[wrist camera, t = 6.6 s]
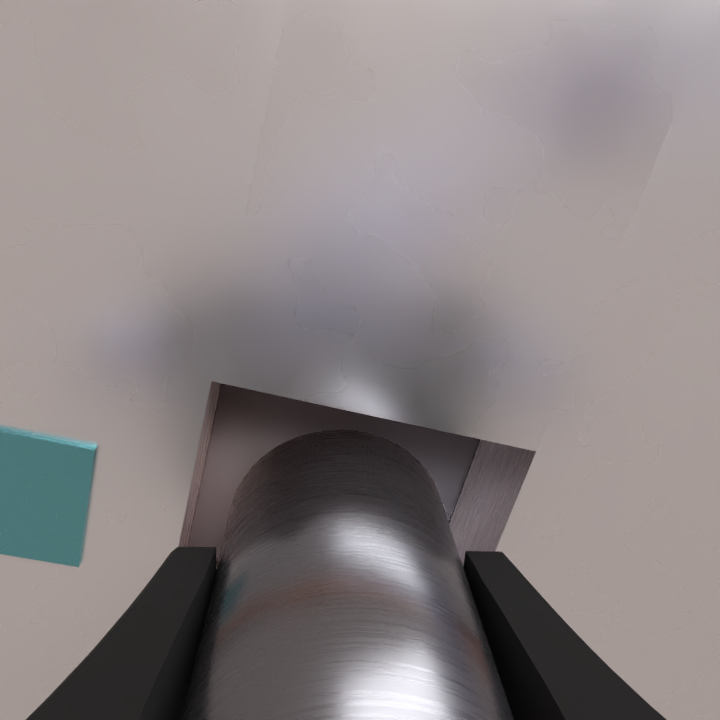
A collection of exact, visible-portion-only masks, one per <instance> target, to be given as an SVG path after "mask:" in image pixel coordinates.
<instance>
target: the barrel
mask: <svg viewBox="0 0 720 720" xmlns="http://www.w3.org/2000/svg"><path fill="white" fill-rule="evenodd" d="M181 720H514V718H513V715H512V712H511V709H510V706H509V703H508V700H507V697H506V694H505V691H504V688H503V685H502V682H501V679H500V676H499V673H498V670H497V667H496V664H495V661H494V658H493V655H492V652H491V649H490V646H489V643H488V640H487V637H486V634H485V631H484V628H483V625H482V622H481V619H480V616H479V613H478V610H477V607H476V604H475V601H474V598H473V595H472V592H471V589H470V586H469V583H468V580H467V577H466V574H465V571H464V568H463V565H462V562H461V559H460V556H459V553H458V550H457V547H456V544H455V541H454V538H453V535H452V532H451V529H450V526H449V523H448V520H447V517H446V514H445V511H444V508H443V505H442V502H441V499H440V496H439V493H438V490H437V488H436V486H435V484H434V481H433V480H432V478H431V477H430V475H429V474H428V472H427V470H426V469H425V468H424V467H423V466H422V465H421V464H420V462H419V461H418V460H417V459H415V458H414V457H413V456H412V455H411V454H410V453H409V452H407V451H406V450H404V449H403V448H401V447H400V446H398V445H396V444H394V443H392V442H390V441H388V440H386V439H384V438H381V437H378V436H375V435H372V434H368V433H363V432H358V431H349V430H327V431H321V432H314V433H310V434H307V435H303V436H300V437H297V438H294V439H292V440H290V441H287V442H285V443H283V444H282V445H280V446H278V447H276V448H274V449H273V450H271V451H270V452H269V453H267V454H266V455H265V456H264V457H262V458H261V459H260V460H259V461H258V462H257V463H256V464H255V465H254V466H253V467H252V468H251V469H250V471H249V472H248V473H247V475H246V476H245V477H244V479H243V481H242V482H241V484H240V486H239V488H238V490H237V492H236V495H235V497H234V500H233V504H232V508H231V512H230V516H229V520H228V524H227V529H226V533H225V537H224V541H223V545H222V549H221V554H220V558H219V562H218V566H217V570H216V575H215V579H214V583H213V587H212V591H211V595H210V600H209V604H208V608H207V612H206V616H205V620H204V625H203V629H202V633H201V637H200V641H199V645H198V650H197V654H196V658H195V662H194V666H193V671H192V675H191V679H190V683H189V687H188V691H187V696H186V700H185V704H184V708H183V712H182V716H181Z"/></svg>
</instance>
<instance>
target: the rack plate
mask: <svg viewBox="0 0 720 720" xmlns="http://www.w3.org/2000/svg"><path fill="white" fill-rule="evenodd" d="M221 383H222V384H227V385H231V386H236V387H240V388H245V389H250V390H254V391H259V392H264V393H268V394H273V395H277V396H282V397H287V398H291V399H296V400H301V401H305V402H310V403H314V404H319V405H324V406H328V407H333V408H338V409H342V410H347V411H351V412H356V413H361V414H365V415H370V416H375V417H379V418H384V419H389V420H393V421H398V422H402V423H407V424H412V425H416V426H421V427H426V428H430V429H435V430H439V431H444V432H449V433H453V434H458V435H463V436H467V437H472V438H476V439H481V440H480V443H479V445H478V448H477V451H476V453H475V456H474V459H473V461H472V464H471V467H470V469H469V472H468V475H467V477H466V480H465V483H464V485H463V488H462V491H461V493H460V496H459V499H458V501H457V504H456V507H455V509H454V512H453V515H452V518H451V520H450V523H449V526H450V529H451V532H452V535H453V538H454V541H455V544H456V547H457V550H458V553H459V556H460V559H461V562H462V565H464V558H465V552H466V551H496V552H503V553H504V554H505V555H506V557H507V558H508V559H509V560H510V561H511V562H512V563H513V564H514V565H515V567H516V568H517V569H518V570H519V571H520V572H521V573H522V574H523V576H524V577H525V578H526V579H527V580H528V581H529V582H530V583H531V584H532V586H533V587H534V588H535V589H536V590H537V591H538V592H539V593H540V595H541V596H542V597H543V598H544V599H545V600H546V601H547V602H548V603H549V604H550V606H551V607H552V608H553V609H554V610H555V611H556V612H557V613H558V614H559V615H560V617H561V618H562V619H563V620H564V621H565V622H566V623H567V624H568V625H569V626H570V627H571V628H572V629H573V630H574V631H575V632H576V633H577V635H578V636H579V637H580V638H581V639H582V640H583V641H584V642H585V643H586V644H587V645H588V646H589V647H590V648H591V649H592V650H593V651H594V652H595V653H596V654H597V655H598V656H599V657H600V658H601V659H602V660H603V661H604V662H605V663H606V664H607V665H608V666H609V667H610V668H611V669H612V670H613V671H614V672H615V673H616V674H617V675H618V676H620V677H621V678H622V679H623V680H624V681H625V682H626V683H627V684H628V685H629V686H630V687H631V688H632V689H633V690H634V691H635V692H637V693H638V694H639V695H640V696H641V697H642V698H643V699H644V700H645V701H646V702H647V703H648V704H649V705H651V706H652V707H653V708H654V709H655V710H656V711H657V712H659V713H660V714H661V715H662V716H663V717H664V718H665V719H666V720H720V0H0V720H26V719H27V718H28V717H29V716H30V715H31V714H32V713H33V712H34V711H35V710H36V709H37V708H38V707H39V706H40V705H41V704H42V703H43V702H44V701H45V700H46V699H47V698H48V697H49V696H50V695H51V694H52V693H53V691H54V690H55V689H56V688H57V687H58V686H59V685H60V684H61V683H62V682H63V681H64V680H65V679H66V678H67V677H68V676H69V674H70V673H71V672H72V671H73V670H74V669H75V668H76V667H77V666H78V665H79V664H80V663H81V662H82V661H83V660H84V659H85V657H86V656H87V655H88V654H89V653H90V652H91V651H92V650H93V649H94V648H95V646H96V645H97V644H98V643H99V642H100V641H101V639H102V638H103V637H104V636H105V635H106V634H107V632H108V631H109V630H110V629H111V628H112V627H113V625H114V624H115V623H116V622H117V621H118V619H119V618H120V617H121V616H122V615H123V614H124V612H125V611H126V610H127V609H128V608H129V606H130V605H131V604H132V603H133V601H134V600H135V599H136V598H137V596H138V595H139V594H140V593H141V591H142V590H143V589H144V588H145V586H146V585H147V584H148V582H149V581H150V580H151V578H152V577H153V576H154V575H155V573H156V572H157V570H158V569H159V568H160V566H161V565H162V564H163V562H164V561H165V560H166V558H167V557H168V555H169V554H170V553H171V552H172V551H173V550H174V549H176V548H177V547H188V542H189V537H190V532H191V527H192V522H193V517H194V513H195V508H196V503H197V498H198V493H199V488H200V483H201V479H202V474H203V469H204V464H205V459H206V454H207V449H208V445H209V440H210V435H211V430H212V425H213V420H214V415H215V411H216V406H217V401H218V396H219V391H220V386H221ZM217 566H218V565H217V564H216V569H217Z"/></svg>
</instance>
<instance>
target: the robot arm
mask: <svg viewBox="0 0 720 720" xmlns="http://www.w3.org/2000/svg"><path fill="white" fill-rule="evenodd" d="M463 568H464V571H465V574H466V577H467V580H468V583H469V586H470V589H471V592H472V595H473V598H474V601H475V604H476V607H477V610H478V613H479V616H480V619H481V622H482V625H483V628H484V631H485V634H486V637H487V640H488V643H489V646H490V649H491V652H492V655H493V658H494V661H495V664H496V667H497V670H498V673H499V676H500V679H501V682H502V685H503V688H504V691H505V694H506V697H507V700H508V703H509V706H510V709H511V712H512V715H513V718H514V720H666V719H665V718H664V717H663V716H662V715H661V714H660V713H659V712H657V711H656V710H655V709H654V708H653V707H652V706H651V705H649V704H648V703H647V702H646V701H645V700H644V699H643V698H642V697H641V696H640V695H639V694H638V693H637V692H635V691H634V690H633V689H632V688H631V687H630V686H629V685H628V684H627V683H626V682H625V681H624V680H623V679H622V678H621V677H620V676H618V675H617V674H616V673H615V672H614V671H613V670H612V669H611V668H610V667H609V666H608V665H607V664H606V663H605V662H604V661H603V660H602V659H601V658H600V657H599V656H598V655H597V654H596V653H595V652H594V651H593V650H592V649H591V648H590V647H589V646H588V645H587V644H586V643H585V642H584V641H583V640H582V639H581V638H580V637H579V636H578V635H577V633H576V632H575V631H574V630H573V629H572V628H571V627H570V626H569V625H568V624H567V623H566V622H565V621H564V620H563V619H562V618H561V617H560V615H559V614H558V613H557V612H556V611H555V610H554V609H553V608H552V607H551V606H550V604H549V603H548V602H547V601H546V600H545V599H544V598H543V597H542V596H541V595H540V593H539V592H538V591H537V590H536V589H535V588H534V587H533V586H532V584H531V583H530V582H529V581H528V580H527V579H526V578H525V577H524V576H523V574H522V573H521V572H520V571H519V570H518V569H517V568H516V567H515V565H514V564H513V563H512V562H511V561H510V560H509V559H508V558H507V557H506V555H505V554H504V553H503V552H496V551H466V552H465V558H464V565H463ZM216 570H217V569H216V547H177V548H176V549H174V550H173V551H172V552H171V553H170V554H169V555H168V557H167V558H166V560H165V561H164V562H163V564H162V565H161V566H160V568H159V569H158V570H157V572H156V573H155V575H154V576H153V577H152V578H151V580H150V581H149V582H148V584H147V585H146V586H145V588H144V589H143V590H142V591H141V593H140V594H139V595H138V596H137V598H136V599H135V600H134V601H133V603H132V604H131V605H130V606H129V608H128V609H127V610H126V611H125V612H124V614H123V615H122V616H121V617H120V618H119V619H118V621H117V622H116V623H115V624H114V625H113V627H112V628H111V629H110V630H109V631H108V632H107V634H106V635H105V636H104V637H103V638H102V639H101V641H100V642H99V643H98V644H97V645H96V646H95V648H94V649H93V650H92V651H91V652H90V653H89V654H88V655H87V656H86V657H85V659H84V660H83V661H82V662H81V663H80V664H79V665H78V666H77V667H76V668H75V669H74V670H73V671H72V672H71V673H70V674H69V676H68V677H67V678H66V679H65V680H64V681H63V682H62V683H61V684H60V685H59V686H58V687H57V688H56V689H55V690H54V691H53V693H52V694H51V695H50V696H49V697H48V698H47V699H46V700H45V701H44V702H43V703H42V704H41V705H40V706H39V707H38V708H37V709H36V710H35V711H34V712H33V713H32V714H31V715H30V716H29V717H28V718H27V719H26V720H181V716H182V712H183V708H184V704H185V700H186V696H187V691H188V687H189V683H190V679H191V675H192V671H193V666H194V662H195V658H196V654H197V650H198V645H199V641H200V637H201V633H202V629H203V625H204V620H205V616H206V612H207V608H208V604H209V600H210V595H211V591H212V587H213V583H214V579H215V575H216Z"/></svg>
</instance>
